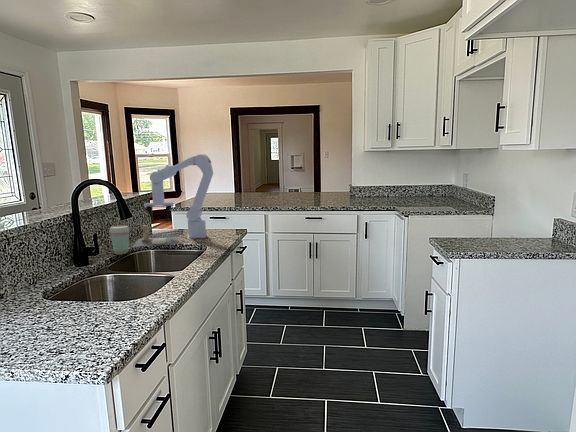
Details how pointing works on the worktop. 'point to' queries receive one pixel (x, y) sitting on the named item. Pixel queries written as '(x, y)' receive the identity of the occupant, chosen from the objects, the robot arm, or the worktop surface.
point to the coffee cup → (120, 238)
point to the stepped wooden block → (146, 234)
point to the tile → (159, 241)
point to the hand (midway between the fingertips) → (159, 220)
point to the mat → (169, 242)
